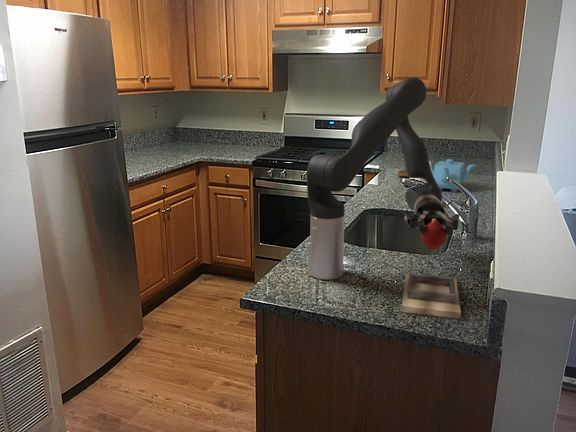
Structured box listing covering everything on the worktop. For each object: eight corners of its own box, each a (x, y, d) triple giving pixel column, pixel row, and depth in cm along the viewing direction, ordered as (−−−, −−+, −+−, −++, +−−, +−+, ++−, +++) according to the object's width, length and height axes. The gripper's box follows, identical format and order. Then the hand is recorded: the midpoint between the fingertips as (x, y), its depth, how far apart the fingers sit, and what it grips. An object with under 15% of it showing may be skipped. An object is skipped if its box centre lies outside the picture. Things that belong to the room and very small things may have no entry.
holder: (401, 311, 112) (402, 298, 111) (405, 278, 130) (406, 266, 129) (460, 318, 109) (461, 304, 108) (455, 283, 127) (456, 271, 126)
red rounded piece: (440, 245, 121) (442, 215, 119) (448, 253, 116) (451, 221, 113) (417, 246, 121) (419, 215, 119) (425, 254, 115) (427, 222, 113)
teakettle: (451, 184, 246) (453, 155, 242) (476, 191, 229) (479, 161, 225) (419, 187, 240) (421, 158, 236) (443, 195, 223) (445, 163, 219)
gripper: (402, 196, 130) (405, 213, 114) (457, 198, 128) (469, 216, 112) (400, 222, 132) (404, 243, 116) (455, 224, 130) (466, 246, 114)
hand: (435, 229), depth 114 cm, fingers closed on red rounded piece, 5 cm apart
